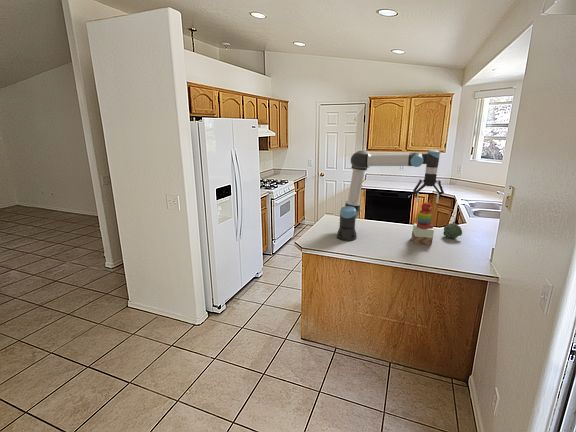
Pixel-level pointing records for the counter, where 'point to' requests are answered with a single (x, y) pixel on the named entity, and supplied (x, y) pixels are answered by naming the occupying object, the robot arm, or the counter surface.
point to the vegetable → (452, 231)
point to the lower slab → (421, 240)
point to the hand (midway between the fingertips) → (426, 202)
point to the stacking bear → (425, 216)
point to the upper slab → (422, 231)
